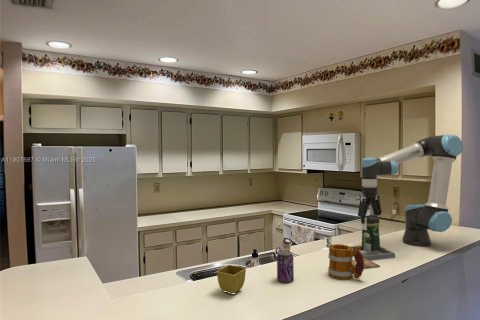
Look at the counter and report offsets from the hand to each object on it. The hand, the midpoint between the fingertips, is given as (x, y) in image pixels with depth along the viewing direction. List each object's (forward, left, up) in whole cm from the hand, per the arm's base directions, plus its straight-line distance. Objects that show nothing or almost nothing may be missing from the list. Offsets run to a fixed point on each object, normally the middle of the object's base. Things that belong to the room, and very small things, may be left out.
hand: (370, 228), depth 172 cm
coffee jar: (0, 0, -12) cm, 12 cm away
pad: (+14, +12, -14) cm, 23 cm away
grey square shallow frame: (0, 0, -14) cm, 14 cm away
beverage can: (+57, +20, -14) cm, 62 cm away
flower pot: (+82, +25, -14) cm, 87 cm away
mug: (+30, +24, -14) cm, 41 cm away
